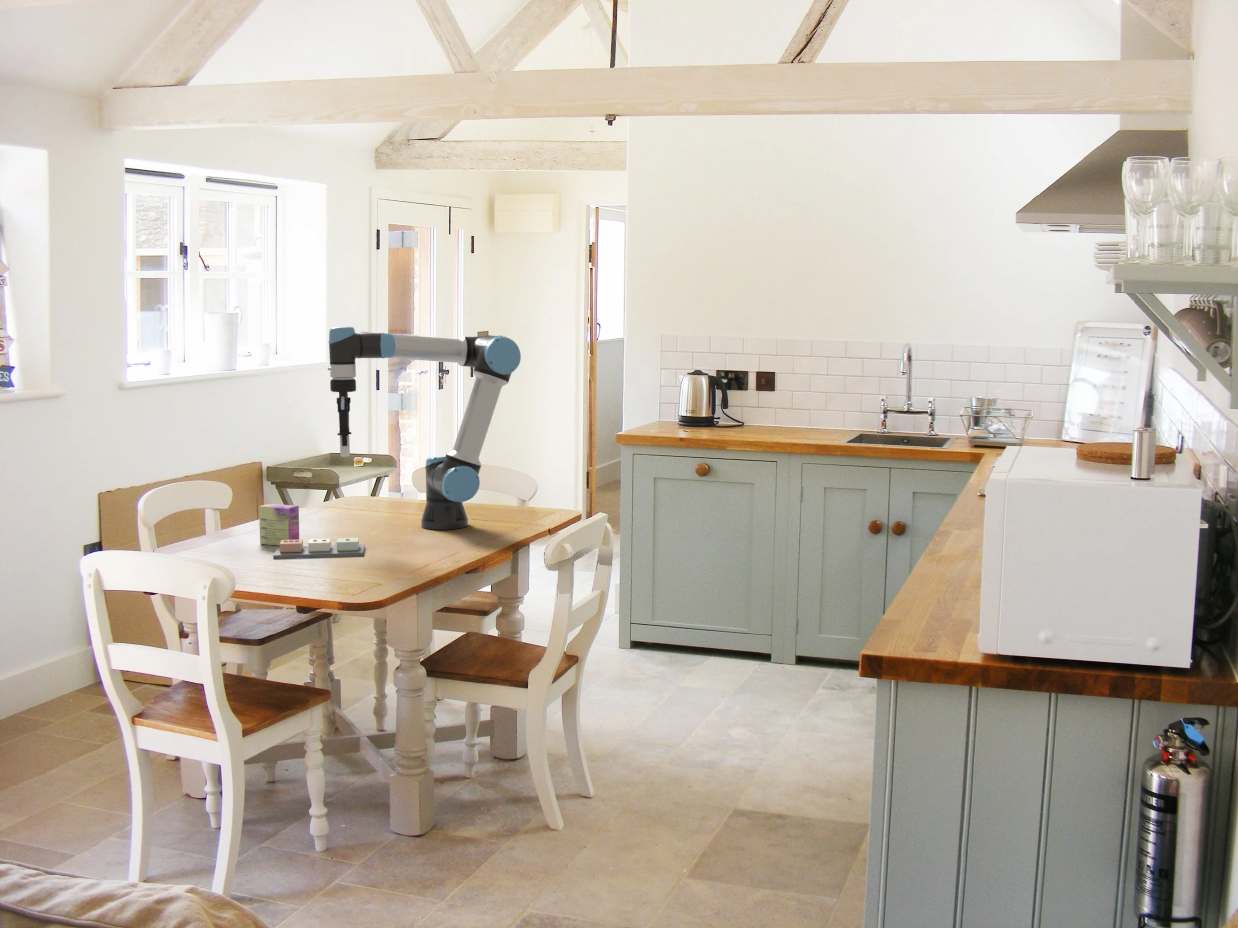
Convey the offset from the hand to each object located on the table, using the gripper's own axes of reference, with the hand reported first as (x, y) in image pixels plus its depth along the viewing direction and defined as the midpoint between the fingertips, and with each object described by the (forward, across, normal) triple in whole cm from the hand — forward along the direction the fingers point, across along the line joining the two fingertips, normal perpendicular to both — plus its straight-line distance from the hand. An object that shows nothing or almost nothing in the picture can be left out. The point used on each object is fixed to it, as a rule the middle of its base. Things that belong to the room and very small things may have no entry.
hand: (345, 456), depth 362 cm
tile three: (+25, +16, -15) cm, 33 cm away
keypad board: (+26, +16, -7) cm, 32 cm away
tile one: (+25, +16, +1) cm, 30 cm away
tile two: (+25, +16, -7) cm, 31 cm away
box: (+27, 0, -20) cm, 33 cm away
